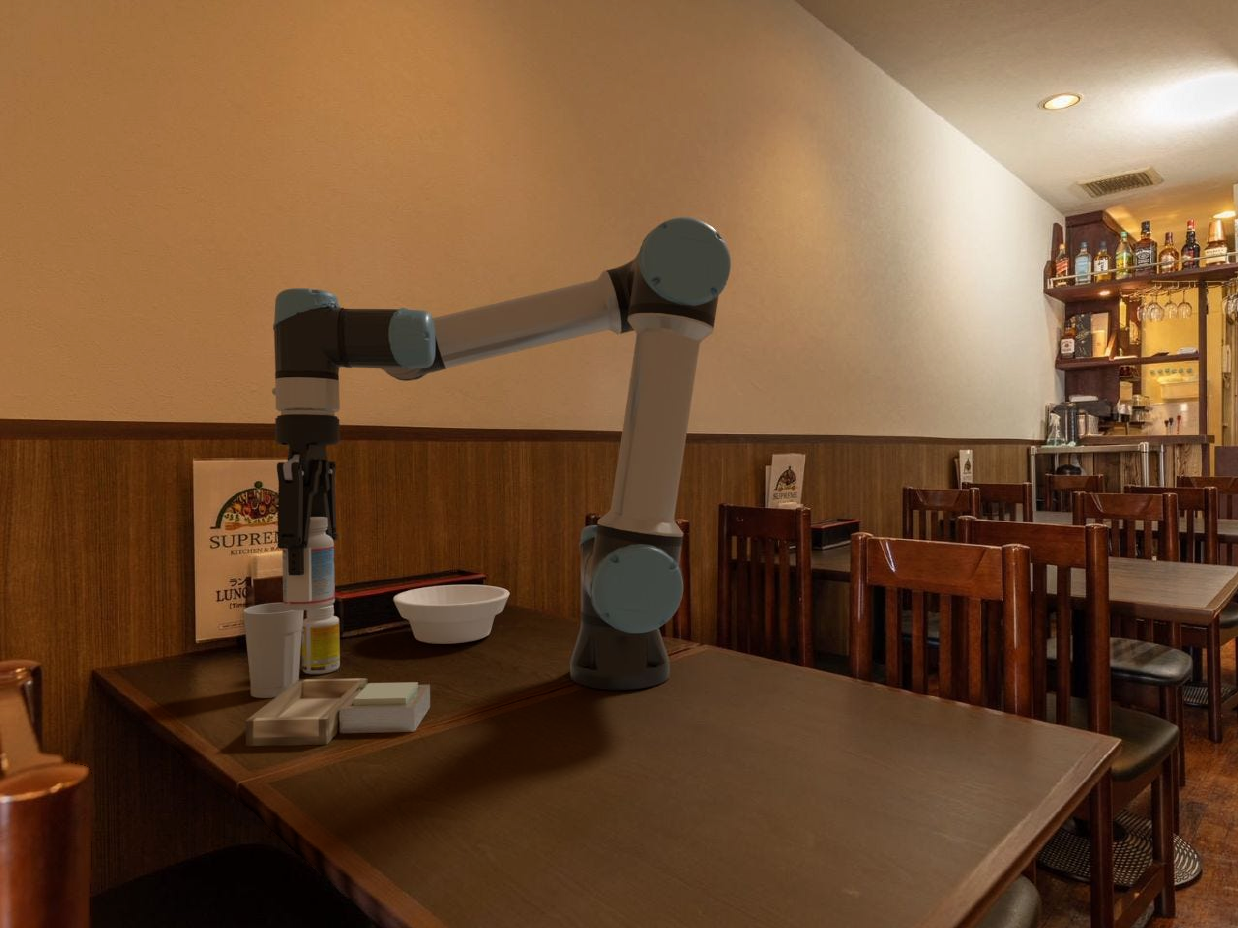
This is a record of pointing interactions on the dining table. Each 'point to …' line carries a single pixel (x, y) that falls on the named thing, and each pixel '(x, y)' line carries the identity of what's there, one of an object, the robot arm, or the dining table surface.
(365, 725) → the white note holder
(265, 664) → the cup
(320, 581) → the pill bottle
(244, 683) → the dining table surface
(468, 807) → the dining table surface
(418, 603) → the bowl
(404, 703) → the pad
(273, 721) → the trough
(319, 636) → the supplement bottle
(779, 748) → the dining table surface
